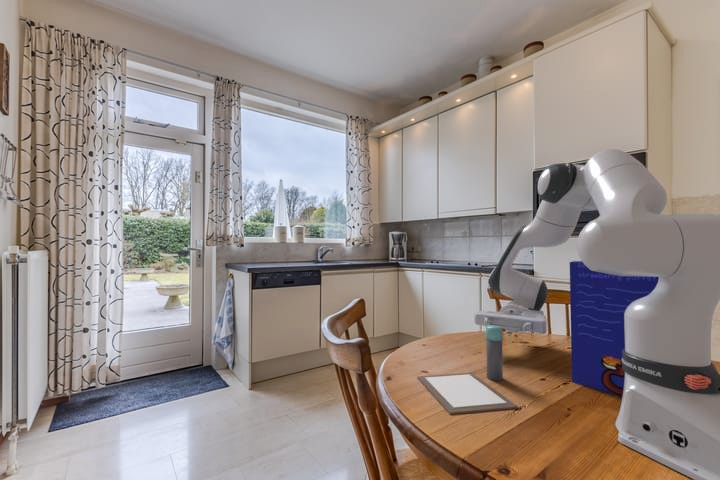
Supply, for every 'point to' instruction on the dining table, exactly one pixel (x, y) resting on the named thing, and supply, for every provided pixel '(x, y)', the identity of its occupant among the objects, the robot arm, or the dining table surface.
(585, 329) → the cereal box
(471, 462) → the dining table surface
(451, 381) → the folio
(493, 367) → the marker
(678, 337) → the robot arm
